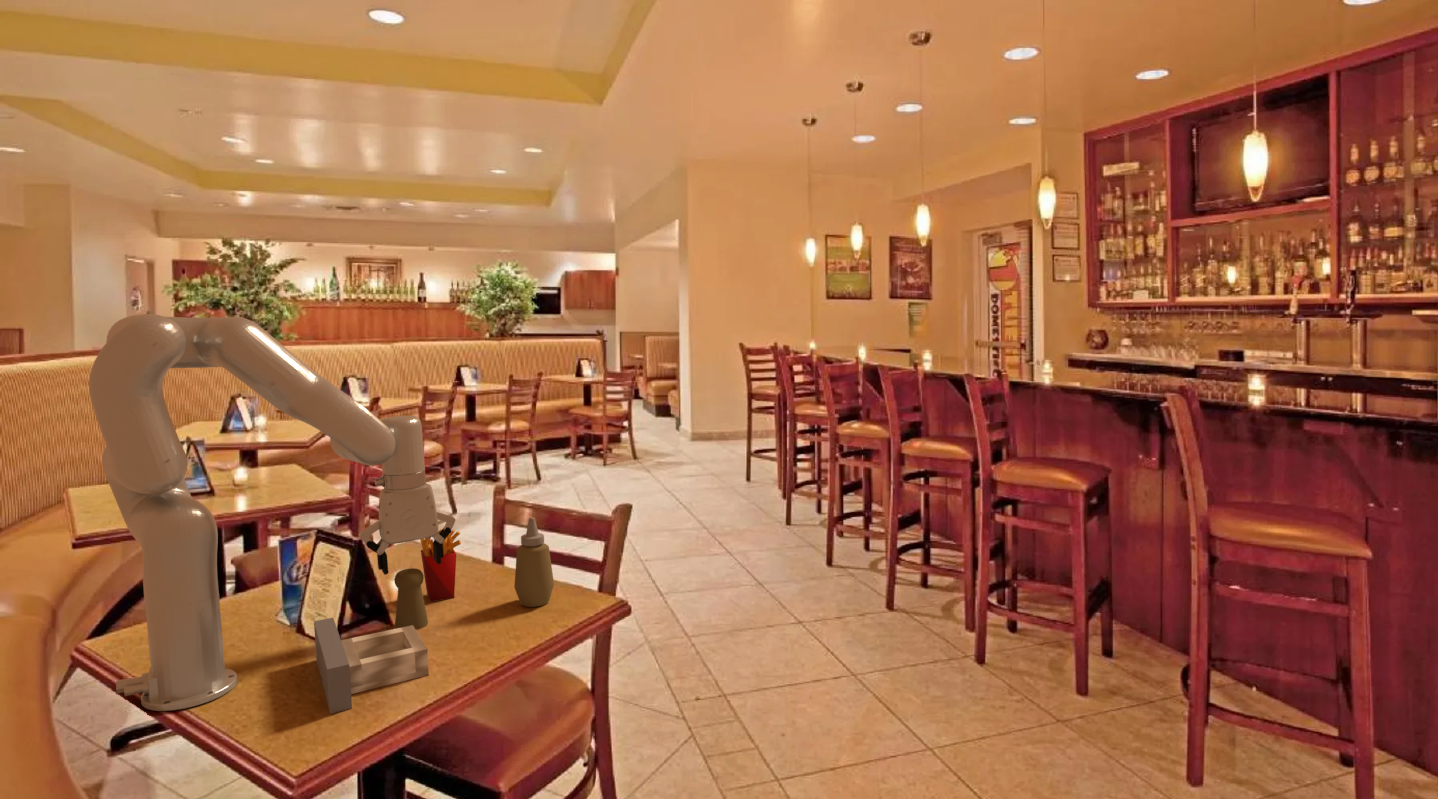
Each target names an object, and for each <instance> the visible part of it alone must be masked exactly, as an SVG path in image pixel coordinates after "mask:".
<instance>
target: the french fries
mask: <svg viewBox="0 0 1438 799" xmlns="http://www.w3.org/2000/svg"><path fill="white" fill-rule="evenodd" d="M442 529H443V528H440V529H438V533H440V531H441V530H442ZM459 535H461V532H460V530H459V531H458V530H457V531H456V530H455V529H451V533H450V534H449V535H448V536H447V538H446V539H445V541H444V543H443V554H444V557H443V558H441V564H437V563H436V562H435V560H434V553H433V542H434V539H431V538H432V537H429V538H425V539H419V541H420V543H421V548H422V549H420V554H421V561H422V568H423V577H424V581H425V582H424V583H425V588H426V595H427V597H428V599H429V602H431V603H432V602H437V600H438V601H443V600H449V599H454V598H455V590H456V569H457V568H456V566H457V552H456V550H455V548H456V547H458V546H460V545H461V544H462V542H461V540H460V539H457V540H456V538H457V537H458V536H459ZM455 540H456V541H455Z"/></svg>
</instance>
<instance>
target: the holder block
mask: <svg viewBox="0 0 1438 799" xmlns="http://www.w3.org/2000/svg"><path fill="white" fill-rule="evenodd" d="M341 642H342V645H343V647H344V650H345V653H346V656H347V659H348V662H349V667H350V683H351V695H353V694H357V693H358V694H359V693H361V692H365V691H369V690H374V689H378V688H382V687H385V686H389V685H394V684H398V683H402V682H406V681H410V680H414V679H418V678H421V677H426V676H429V675H430V674H429V656H428V655H429V654H428V647H427V646H426V644H425V642H424V641H423V639H422V638H421V636H420V634H419V633H418V631H417V630H416V629H415V628H414V626H413V625H411V626H407V627H402V628H397V629H395V628H394V629H392V628H391V629H388V630H382V631H378V632H374V633H369V634H364V635H360V636H355V637H350V638H345V639H341Z"/></svg>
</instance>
